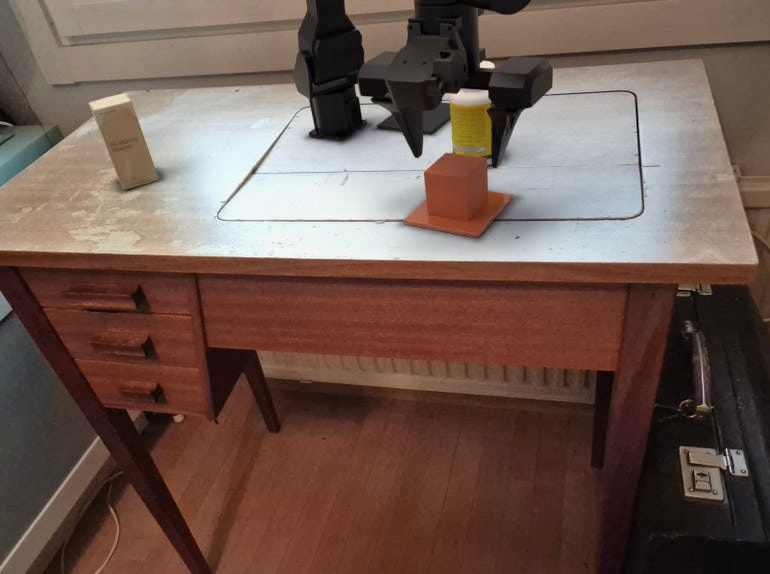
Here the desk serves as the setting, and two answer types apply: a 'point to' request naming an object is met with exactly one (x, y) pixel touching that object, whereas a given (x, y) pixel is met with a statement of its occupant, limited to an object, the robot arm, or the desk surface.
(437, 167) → the terracotta block
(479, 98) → the pill bottle
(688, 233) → the desk surface
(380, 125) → the charcoal mat
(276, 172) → the desk surface
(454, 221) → the terracotta mat
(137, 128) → the box
